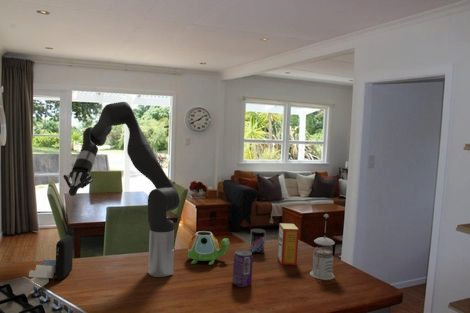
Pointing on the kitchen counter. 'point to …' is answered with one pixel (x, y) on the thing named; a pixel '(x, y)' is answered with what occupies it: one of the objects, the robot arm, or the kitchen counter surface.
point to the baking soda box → (288, 244)
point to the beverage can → (242, 268)
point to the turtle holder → (206, 247)
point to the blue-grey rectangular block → (49, 262)
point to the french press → (323, 259)
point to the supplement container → (257, 241)
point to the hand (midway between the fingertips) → (71, 194)
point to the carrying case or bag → (64, 257)
